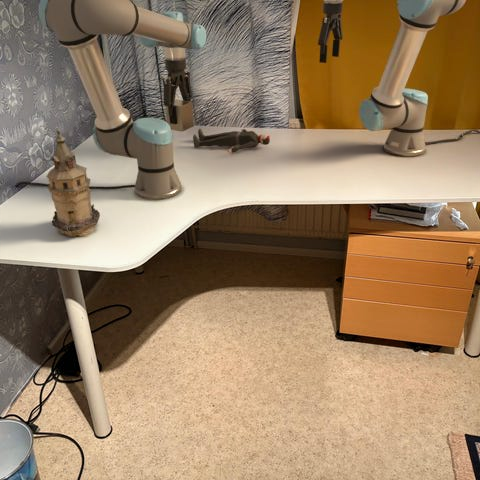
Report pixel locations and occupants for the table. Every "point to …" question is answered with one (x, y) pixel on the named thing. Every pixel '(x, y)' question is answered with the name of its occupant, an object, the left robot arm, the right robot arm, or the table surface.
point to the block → (181, 115)
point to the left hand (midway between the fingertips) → (179, 120)
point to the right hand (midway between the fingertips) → (329, 59)
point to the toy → (231, 140)
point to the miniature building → (70, 193)
